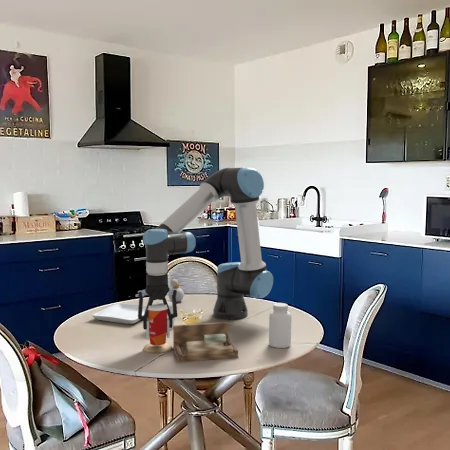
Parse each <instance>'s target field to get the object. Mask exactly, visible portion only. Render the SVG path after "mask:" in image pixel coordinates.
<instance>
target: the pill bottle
mask: <svg viewBox="0 0 450 450" xmlns="http://www.w3.org/2000/svg"><path fill="white" fill-rule="evenodd" d="M272 305H273V306H272V311H271V312H269V317H268V319H269V320H268V321H269V323H268V324H269V325H268V344H269V345H270V346H271V347H273V348H277V349H285V348H286V349H287V348H289V347H290V346H292V345H291V344H292V313H291V312H289V305H288V304H287V303H284V302H275V303H273V304H272Z"/></svg>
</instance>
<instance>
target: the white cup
mask: <svg viewBox="0 0 450 450" xmlns="http://www.w3.org/2000/svg"><path fill="white" fill-rule="evenodd" d="M166 301H167V304H168V306H169V309H170V312H171V314H173V306H172V301H171V300H169V301H168V300H166ZM161 302H163V300H161ZM167 318H168V314H167ZM175 319H176V317H175V318H173V319H172V328H169V331H170V330H173V325H175Z"/></svg>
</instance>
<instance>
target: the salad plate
mask: <svg viewBox="0 0 450 450" xmlns="http://www.w3.org/2000/svg"><path fill="white" fill-rule="evenodd" d="M138 307H139V304H133V303H124V302H123V303H122V302H118V303H116V304H113V305H111V306H109V307H106V308H104V309H102V310H99V311H97V312H95V313H92V314H91V316H92V317H93V318H94V319H96V320H98V321H99V320H100V321H104V322H109V323H116V324H117V323H118V324H125V325H132V324H133V325H134V324H135V323H137V322H139V321H141V320H139V319H138ZM146 307H147V305H143V307H142V316H144V313H145V310H146Z"/></svg>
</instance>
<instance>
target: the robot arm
mask: <svg viewBox="0 0 450 450" xmlns="http://www.w3.org/2000/svg"><path fill="white" fill-rule="evenodd" d="M264 181H265V180H264V178H263V175H262V174H261V173H260V172H259V171H258V170H257V169H255V168H252V167H245V166H244V167H225V168H221V169H219V170H217V171H216V172H214V173H213V174H211V175H210V176H208V177H207V178H206V179H204V181H203V182H201V183H200V184H199V189H198V190H197V191H195V192H194V193H193V194H192V195H191V196H190V197H189V198H188V199H187V200H185V202H183V203H182V204H181V205H180V206H179V207H178V208H177V209H176V210H174V212H172V213H171V214H170V215H169V216H168V217H167V218H165V220H163V222H161V224H159V225H158V226H157V227H156V228H151V229H147V230H146V231H145V232H144V233H143V236H142V242H143V245H144V246H145V260H146V261H145V267H146V269H145V271H146V272H145V273H146V281H145V283H146V286H145V289H142V290H138V291H137V295H138V305H139V307H138V319H139V320H140V321H142V328H143V330H144V331H145V330H146V332H145V333H146V336H145V337H146V340H150V337H149V321H148V315H149V313H148V310H147V309H148V306H152V303H153V302H154V301H158V300H159V301H163V303H164V305H167V308H168V309H167V314H168V318H167V331H166V339H170V330H169V328H172V319H173V318H175V319H176V318H177V317H179V316H178V305H177V302H176V293H177V290H176V289H172V287H171V288H170V286H169V274H168V272H169V263H168V262H169V256H172V255H178V254H179V255H180V254H187V253H191V252H193V251H194V250H195V248H196V237H195V236H194V234H193V233H192V232H190V231H183V230H184V229H185V228H187V227H188V225H190V224H191V223H192V222H193V221H194V220H195V219H196V218H197V217H198V216H199V215H200V214H201V213H202V212H204V211H205V210H206V209H207V207H208V206H210V205H211V203H216V202H218V201H219V200H220V199H221V198H223V197H229V199H230V204H231V205H233V206H234V209H235V211H234V212H235V220H236V228H237V237H238V244H239V245H238V246H239V254H240V256H239V257H240V261H236V262H235V261H234V262H225V263H221V264H219V265H218V266H217V271H216V286H217V287H216V290H217V292H216V300H215V304H214V307H213V310H212V311H213V312H212V313H213V317H215V318H218V319H223V320H237V319H238V320H239V319H243V318H246V317H247V316H248V314H249V313H248V312H249V311H248V306H247V304H246V301H245V296H247V297H251V298H254V299H256V298H257V299H264V298H265V297H266V296H268V295H269V294H270V292H271V290H272V288H273V284H274V276H273V274H272V273H271V271H270V270H269V271H268V270H267V264H266V262H265V261H263V259H262V258H263V257H262V250H261V249H262V247H261V240H260V231H259V222H258V221H259V220H258V219H259V218H258V212H257V203H258V202H259V201H260V196H261V195H262V193H263V192H264V191H263V190H264V189H265V183H264ZM169 292H170V294H171V295H172V301H171V302H172V306H173V314H171V312H170V309H169V306H168V304H167V301H168V300H167V299H166V298H167V295H168V294H169ZM145 294H146V295H148V301H147V303H146V304H147V305H146V306H147V307H146V310H145V313H144V316H142V307H143V306H144V297H146V295H145Z"/></svg>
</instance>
